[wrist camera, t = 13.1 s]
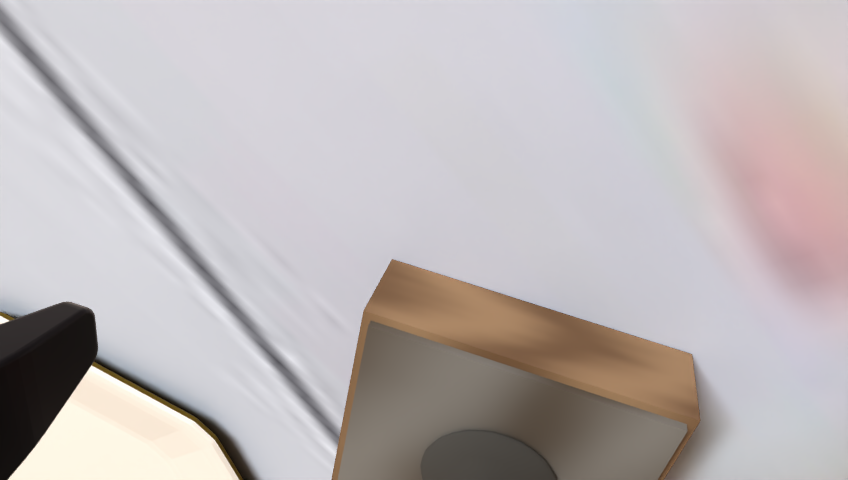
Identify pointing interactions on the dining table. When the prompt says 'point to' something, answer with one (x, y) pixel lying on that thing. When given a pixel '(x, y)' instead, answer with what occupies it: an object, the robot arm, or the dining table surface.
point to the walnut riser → (507, 384)
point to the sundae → (482, 458)
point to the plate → (124, 437)
